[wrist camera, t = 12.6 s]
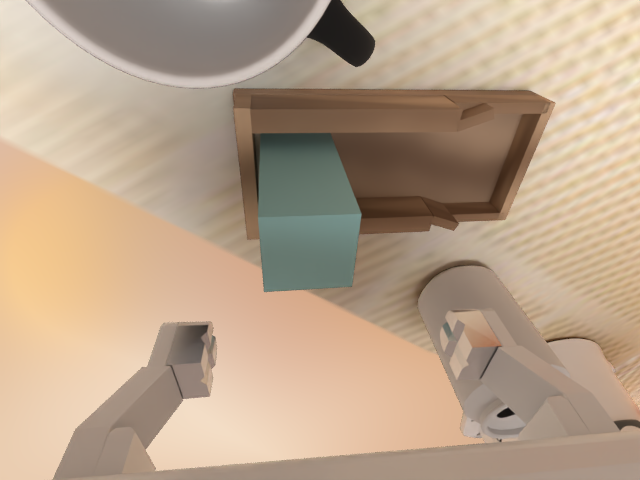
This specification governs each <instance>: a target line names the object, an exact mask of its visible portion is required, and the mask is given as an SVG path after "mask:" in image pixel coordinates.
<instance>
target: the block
mask: <svg viewBox="0 0 640 480" xmlns="http://www.w3.org/2000/svg"><path fill="white" fill-rule="evenodd" d="M360 222H361V211H360V209H359V206H358V203H357V201H356V198H355V196H354V193H353V191H352V188H351V185H350V183H349V180H348V178H347V175H346V172H345V170H344V167H343V165H342V162H341V160H340V157H339V154H338V152H337V149H336V147H335V144H334V141H333V139H332V136H331V134H330V133H260V167H259V200H258V224H259V236H260V248H261V260H262V273H263V284H264V292H272V291H288V290H305V289H322V288H338V287H352V283H353V275H354V267H355V260H356V252H357V245H358V237H359V229H360Z"/></svg>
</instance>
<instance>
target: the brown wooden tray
mask: <svg viewBox="0 0 640 480" xmlns="http://www.w3.org/2000/svg"><path fill="white" fill-rule="evenodd" d="M233 101H234V107H233V111H234V120H235V130H236V139H237V148H238V157H239V166H240V175H241V185H242V194H243V203H244V212H245V221H246V230H247V240H248V239H260V236H259V224H258V200H259V167H260V133H330V134H331V136H332V139H333V141H334V144H335V147H336V149H337V152H338V154H339V157H340V160H341V162H342V165H343V167H344V170H345V172H346V175H347V178H348V180H349V183H350V185H351V188H352V191H353V193H354V196H355V198H356V201H357V203H358V206H359V209H360V211H361V222H360V229H359V234H374V233H398V232H421V231H429V230H430V226H431V224H433V225H436V226H439V227H443V228H446V229H450V230H453V231H454V230H455V228H456V227H457V226H458V224H459V223H458V222H465V221H490V220H505V219H506V217H507V215H508V212H509V210H510V208H511V205H512V203H513V201H514V198H515V196H516V194H517V191H518V189H519V187H520V184H521V182H522V180H523V177H524V175H525V173H526V171H527V168H528V166H529V164H530V161H531V159H532V157H533V154H534V152H535V150H536V147H537V145H538V143H539V140H540V138H541V136H542V134H543V131H544V129H545V127H546V124H547V122H548V120H549V117H550V115H551V113H552V110H553V108H554V106H555V102H553V101H550V100H548V99H546V98H544V97H542V96H540V95H538V94H536V93H533V92H531V91H497V90H360V89H234V91H233Z"/></svg>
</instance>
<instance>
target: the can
mask: <svg viewBox="0 0 640 480" xmlns="http://www.w3.org/2000/svg"><path fill="white" fill-rule="evenodd" d="M486 308H492V309H493V310H494V311H495V312H496V314H497V315H498V317H499V318H500V320H501V321H502V323H503V324H504V326H505V327H506V329H507V331H508V332H509V334H510V335H511V337H512V338H513V340H514V341H515V343H516V344H517V346H523V347H524V348H526V349H527V350H529V351H530V352H532V353H533V354H535V355H536V356H538V357H539V358H541V359H542V360H544V361H545V362H547V363H548V364H550V365H551V366H553V367H554V368H556V369H557V370H559V371H560V372H562V373H563V374H565V375H566V376H568V377H569V378H570V373H569V372H568V370H567V369H566V368H565V366H564V365H563V364H562V362H561V361H560V360H559V358H558V357H557V356H556V354H555V353H554V352H553V350H552V349H551V348H550V346H549V345H548V344H547V342H546V341H545V340H544V338H543V337H542V336H541V334H540V333H539V332H538V330H537V329H536V328H535V326H534V325H533V324H532V322H531V321H530V320H529V318H528V317H527V316H526V314H525V313H524V312H523V310H522V309H521V308H520V306H519V305H518V304H517V302H516V301H515V299H514V298H513V297H512V295H511V294H510V293H509V291H508V290H507V289H506V287H505V286H504V285H503V283H502V282H501V281H500V279H499V278H498V277H497V276H496V275H495V273H494V272H493V271H492V270H490V269H487V268H485V267H483V266H458V267H452V268H450V269H448V270H445V271H443V272H441V273H439V274H438V275H436V276H435V277H433V279H432V280H431V281H430V282H429V283H428V284H427V285H426V287H425V288H424V289H423V291H422V293H421V295H420V297H419V299H418V310H419V312H420V315H421V317H422V319H423V321H424V324H425V326H426V328H427V330H428V333H429V335H430V337H431V339H432V342H433V344H434V346H435V348H436V351H437V353H438V355H439V357H440V360H441V362H442V364H443V366H444V369H445V371H446V373H447V375H448V378H449V380H450V382H451V384H452V386H453V389H454V391H455V393H456V396H457V398H458V400H459V402H460V405H461V407H462V409H463V411H464V414H465V416H467V417H468V418H470V419H472V420H474V421H476V422H477V423H479V424H481V426H480V427H481V429H482V432H483V433H484V434H485V435H487V436H489V437H491V438H498V439H509V438H516V437H518V436H519V434H520V432H521V431H522V430H523V428H524V427H525V426H526V425H527V424H525V423H524V422H523V421H522V420H521V419H520V418H519V417H518V416H517V415H516V414H515V413H514V412H513V411H512V410H511V409H510V408H509V407H507V406H506V405H505V404H504V403H503V402H502V401H501V400H500V399H499V398H498V397H497V396H496V395H495V394H494V393H493V392H492V391H491V390H490V389H488V388H487V387H486V386H485V385H484V384H483V383H482V382H481V381H480V380H481V379H477V380H456V377H455V375H454V373H453V371H452V369H451V366H450V364H449V362H450V359H451V357H450V356H449V355H447V354H446V353H445V352H444V350H443V348H442V345H441V341H440V331H441V328H442V326H443V325H444V324H445V323H446V322H447V320H446V318H445V317H446V314H447V312H448V311H450V310H462V309H486Z"/></svg>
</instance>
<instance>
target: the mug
mask: <svg viewBox="0 0 640 480" xmlns="http://www.w3.org/2000/svg"><path fill="white" fill-rule="evenodd" d="M26 1H27V2H28V3H29V4H30V5H31V6H32V7H33V8H34V9H35V10H36V11H37V12H38V13H39V14H40V15H41V16H42V17H43V18H44V19H45V20H47V21H48V22H49V23H50V24H51V25H52V26H53V27H55V28H56V29H57V30H58V31H59V32H60V33H62V34H63V35H64V36H66V37H67V38H68V39H70V40H71V41H72V42H74V43H75V44H76V45H77V46H79V47H80V48H82V49H84V50H85V51H87V52H88V53H90V54H91V55H93V56H94V57H96V58H98V59H99V60H101V61H103V62H105V63H107V64H109V65H110V66H112V67H114V68H116V69H119V70H121V71H123V72H125V73H127V74H130V75H133V76H135V77H138V78H141V79H144V80H147V81H150V82H154V83H158V84H162V85H167V86H173V87H179V88H193V89H198V88H215V87H222V86H227V85H231V84H236V83H239V82H242V81H245V80H248V79H251V78H253V77H255V76H257V75H259V74H261V73H263V72H265V71H267V70H269V69H270V68H272V67H273V66H275V65H277V64H278V63H279V62H281V61H282V60H283V59H284V58H286V57H287V56H288V55H290V54H291V53H292V52H293V51H294V50H295V49H296V48H297V47H298V46H299V45H300V44H301V43H302V42H303V41H304V40H305V38H306V37H307V38H311V39H314V40H316V41H318V42H320V43H322V44H324V45H325V46H327V47H328V48H330V49H331V50H332V51H333V52H335V53H336V54H337V55H339V56H340V57H341V58H343V59H344V60H345V61H347V62H348V63H349V64H351V65H353V66H355V67H358V66H361V65H363V64H364V63H365V62H366V61H367V60H368V59H369V58H370V56H371V55H372V53H373V50H374V47H375V40H374V38H373V37H372V35H371V34H370V33H369V32H368V31H367V30H366V29H365V28H364V27H363V26H362V25H361V24H360V23H359V22H358V21H357V20H356V19H355V18H354V17H353V16H352V14H351V13H350V12H349V11H348V10H347V9H346V7H345V6H344V5H343V3H342V2H341V0H26Z"/></svg>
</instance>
